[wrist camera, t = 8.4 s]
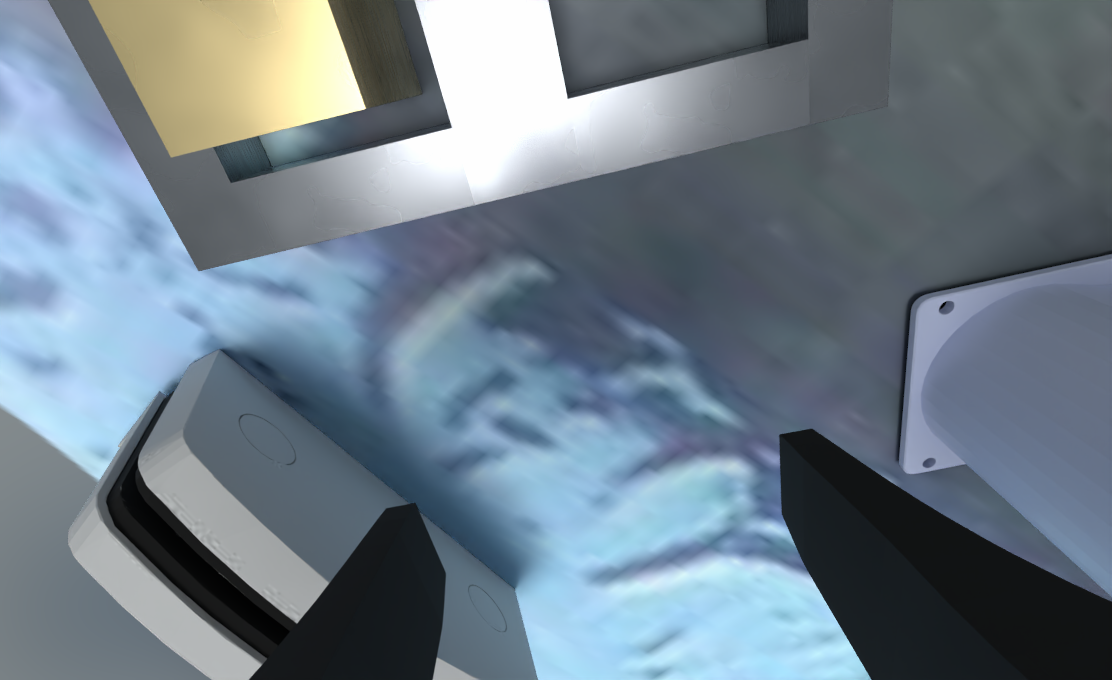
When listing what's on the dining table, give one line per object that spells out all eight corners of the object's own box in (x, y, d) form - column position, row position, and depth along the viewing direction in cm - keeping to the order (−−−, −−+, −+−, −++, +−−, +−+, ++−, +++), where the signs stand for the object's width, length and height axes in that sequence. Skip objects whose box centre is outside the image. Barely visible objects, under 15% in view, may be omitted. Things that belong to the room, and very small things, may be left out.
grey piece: (127, 419, 20) (-83, 602, 11) (225, 333, 21) (102, 439, 11) (439, 638, 27) (472, 871, 17) (510, 569, 27) (580, 762, 18)
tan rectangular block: (422, 94, 16) (365, 108, 10) (291, 127, 16) (170, 157, 11) (371, -73, 14) (271, -160, 9) (225, -33, 14) (39, -93, 9)
